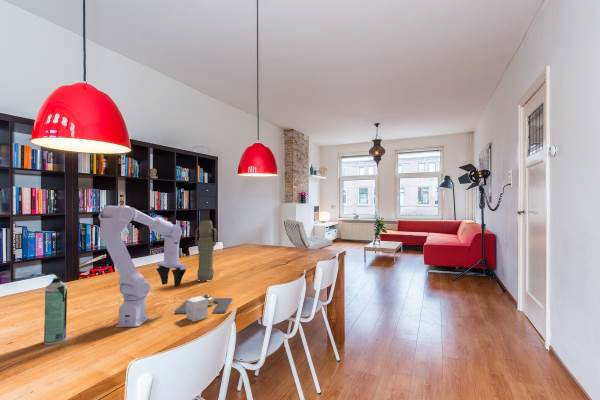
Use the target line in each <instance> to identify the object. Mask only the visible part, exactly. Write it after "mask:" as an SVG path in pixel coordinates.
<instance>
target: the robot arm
mask: <svg viewBox="0 0 600 400" xmlns="http://www.w3.org/2000/svg"><path fill="white" fill-rule="evenodd" d="M98 219H99V221H100V223H99V225H100V229H99V230H100V231H99V235H100V238H101V240H102V242H103V244H104V246H105V248H106V250H107V252H108V254H109V256H110V258H111V260H112V262H113V264H114V266H115V269H116V271H117V272H118V275H119V279H118V281H117V282H118V284H119V293H120V294H121V295H122V298H123V302H122V304H121V305H120V306H119V309H118V324H116V325H115V327H116V328H127V327H128V328H129V327H130V328H131V327H132V328H134V327H135V328H136V327H140V326H141V325H143V323H145V322H146V321H147V320H148V319H149V318H151V317H150V315H146V308H147V307H146V301H147V300H146V298H147V297H148V294H149V293H150V292H151V291H150V290H151V283H150V282H149V280H146V279H145V277H144V275H143V274H141V273H140V272H138V270H137V268H136V266H135V263H134V261H133V260H132V258H131V255H130V253H129V250H128V249H127V246H126V245H125V242H124V239H123V237H122V236H121V233H122V232H123V230H124V229H125V228H127V226H128V225H129V224H130V222H133V221H135V222H137V223H140V224H143V225H145V226H148V229H149V231H152V232H155V233H157V234H159V235H161V237H163V238H164V245H163V247H164V249H163V250H164V251H163V261H158V262H157V268H156V271H157V273H158V276H159V277H160V281H161V284H162V286H163V285H167V284H168V283H169V282H168V281H169V272H170V270H171V273H172V275H173V276H172V277H173V283H174V287H175V288H177V287H180V286H181V282H182V280H183V279H182V278H183V277H184V275H185V274H186V272H187V271H186V270H187V268H186V264H184V263H181V262H180V261H179V260H180V259H179V257H180V256H179V255H180V241H181V236H182V235H183V230H182V227H181V226H180V225H179V224H173V223H172V221H170V220H169V221H167V220H165V219H164V217H162V216H155V217H151V216H149V215H148V214H146V213H144V212H141V211H140V210H138V209H136V208H135V207H131V206H130V205H126V204H125V205H124V204H123V205H111V204H110V205H106V206H104V207H103V208H102V209H101V210H100V213H99V215H98Z"/></svg>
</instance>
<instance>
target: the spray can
mask: <svg viewBox="0 0 600 400" xmlns="http://www.w3.org/2000/svg"><path fill="white" fill-rule="evenodd" d="M67 308H68V284H67V283H65V282H63V281H62V280H61V277H60V276H59V277H54V278H52V281H51V282H50V284H48V285H46V286H45V290H44V325H43V326H44V329H43V331H44V332H43V342H44V343H43V344H44V345H45V346H53V345H57V344H61V343H63V342H65V341H66V340H67V315H68V314H67V313H68V312H67Z"/></svg>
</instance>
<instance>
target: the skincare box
mask: <svg viewBox="0 0 600 400" xmlns="http://www.w3.org/2000/svg"><path fill="white" fill-rule="evenodd" d="M207 300H208V299H206V298H204V297H203V296H201V295H198V296H195V297H188V298H187V299H185V301H186V314H185V315H186V316H185V317H186V319H188V320H189V321H192V322H198V321H201V320H205V319H208V314H209V313H208V310H209V309H208V308H209V307H208V302H207Z"/></svg>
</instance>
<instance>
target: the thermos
mask: <svg viewBox="0 0 600 400" xmlns="http://www.w3.org/2000/svg"><path fill="white" fill-rule="evenodd" d="M198 232H199V233H198ZM213 233H214V237H213ZM198 234H199V236H198ZM194 237H195V238H194V239H195V242H194V243H195V246H196V247H197V251H198V269H197V281H198V280H200V281H207V280H212V279H213V280H214V268H213V265H214V264H213V263H214V261H213V259H214V256H213V255H214V248H215V246H216V245H217V229H216V227H215V228H214V226H213V222H212V220H211V219H202V220H201V221H199V225H198V228H196V229H195V236H194ZM213 280H212V281H213Z"/></svg>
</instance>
